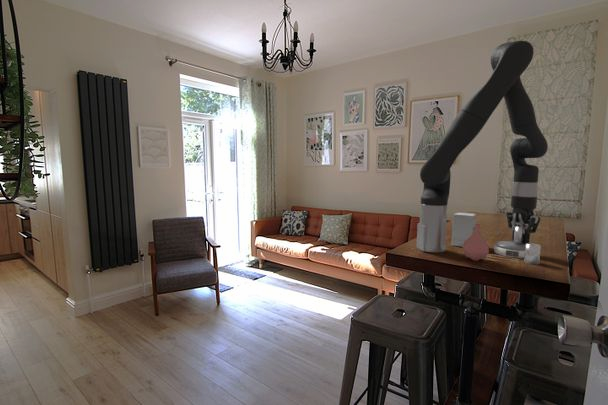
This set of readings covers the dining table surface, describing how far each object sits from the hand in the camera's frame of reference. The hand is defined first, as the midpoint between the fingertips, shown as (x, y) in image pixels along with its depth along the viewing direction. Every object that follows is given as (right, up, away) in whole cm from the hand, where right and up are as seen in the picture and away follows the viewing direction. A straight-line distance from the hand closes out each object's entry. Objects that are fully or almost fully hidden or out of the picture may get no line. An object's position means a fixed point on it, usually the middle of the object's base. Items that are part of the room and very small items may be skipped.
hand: (520, 242), depth 113 cm
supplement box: (-14, -3, +13) cm, 19 cm away
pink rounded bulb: (-20, -5, -7) cm, 22 cm away
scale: (-3, -4, 0) cm, 5 cm away
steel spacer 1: (0, -1, 0) cm, 1 cm away
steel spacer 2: (-3, -5, -10) cm, 12 cm away
